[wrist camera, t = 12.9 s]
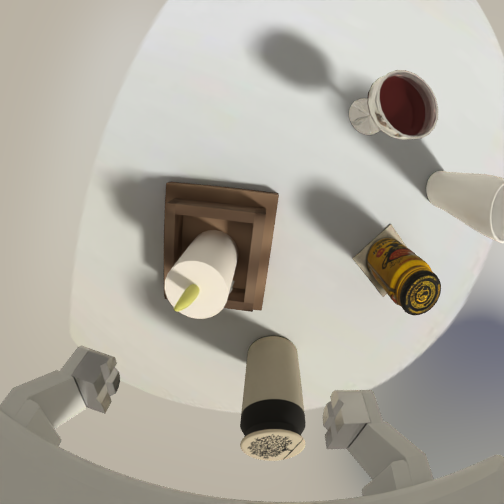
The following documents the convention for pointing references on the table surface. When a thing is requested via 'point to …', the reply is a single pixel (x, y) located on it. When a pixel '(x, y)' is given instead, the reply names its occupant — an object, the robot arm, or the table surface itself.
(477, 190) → the drinking glass
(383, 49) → the table surface
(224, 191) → the candle holder
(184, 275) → the candle
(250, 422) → the travel mug
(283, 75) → the table surface
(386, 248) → the condiment
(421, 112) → the wineglass
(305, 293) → the table surface
